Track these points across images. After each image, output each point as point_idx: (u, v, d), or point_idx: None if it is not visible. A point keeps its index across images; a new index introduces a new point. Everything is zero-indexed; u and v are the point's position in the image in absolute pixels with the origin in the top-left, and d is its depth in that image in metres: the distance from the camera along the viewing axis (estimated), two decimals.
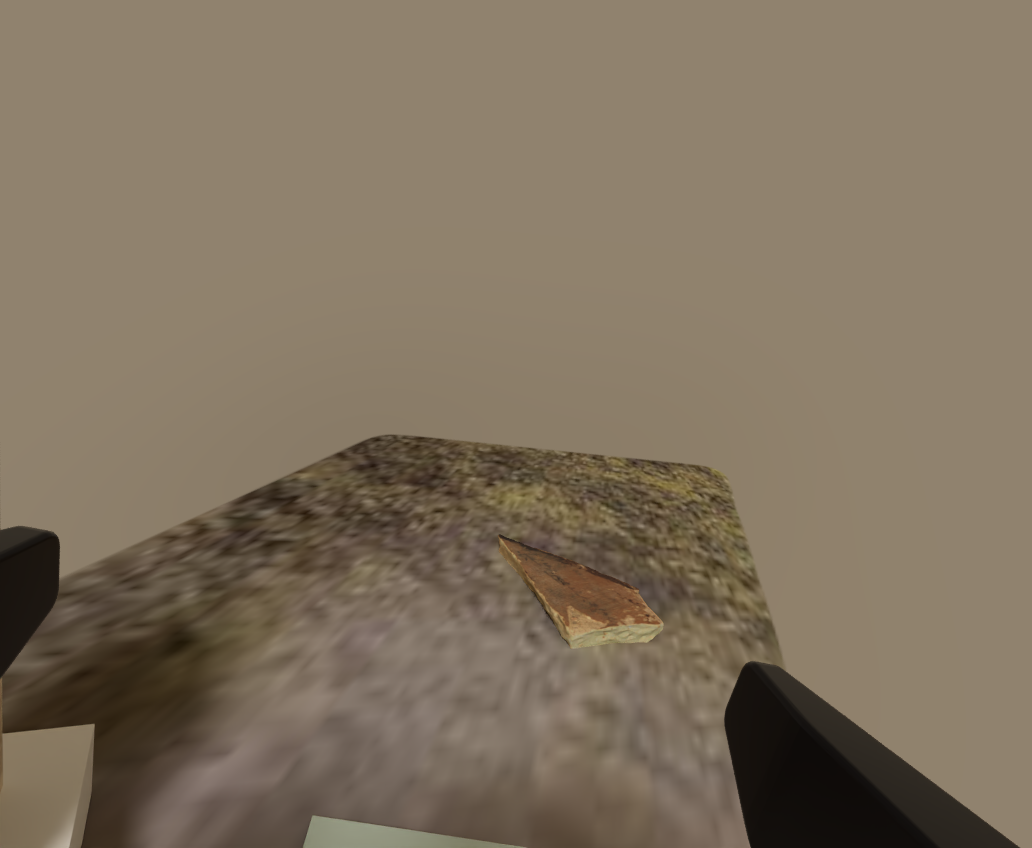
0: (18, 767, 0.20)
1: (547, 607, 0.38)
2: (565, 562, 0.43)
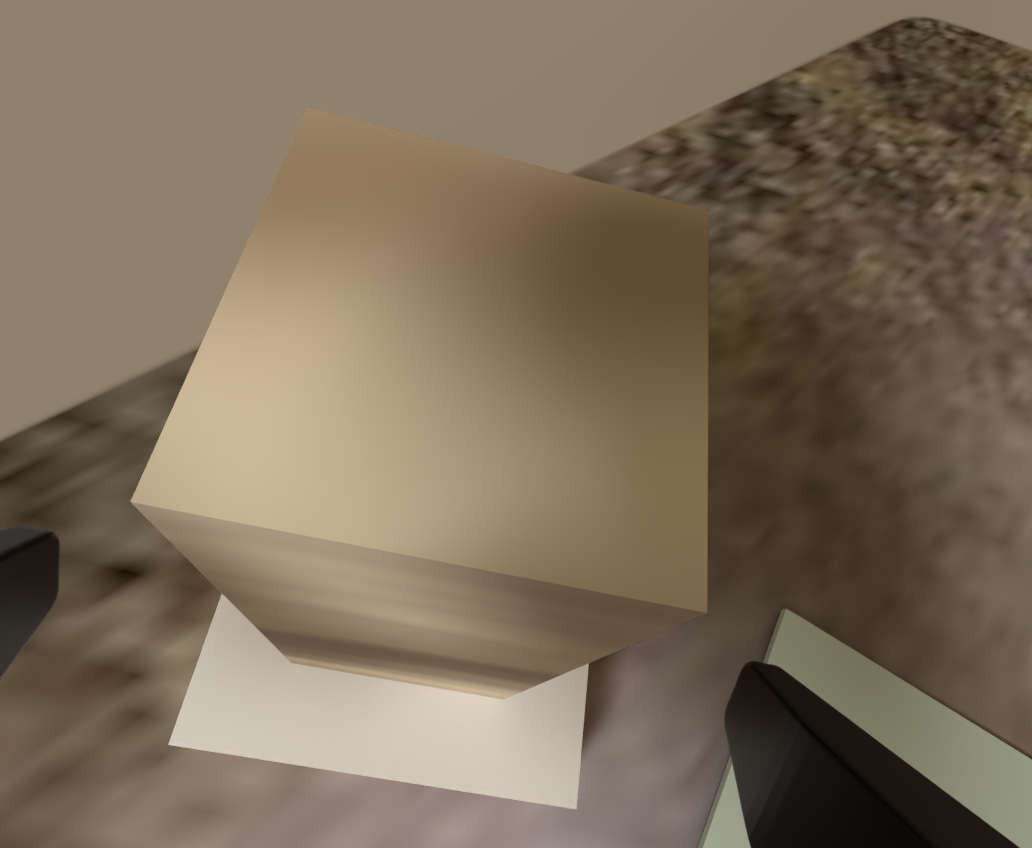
0: None
1: None
2: None
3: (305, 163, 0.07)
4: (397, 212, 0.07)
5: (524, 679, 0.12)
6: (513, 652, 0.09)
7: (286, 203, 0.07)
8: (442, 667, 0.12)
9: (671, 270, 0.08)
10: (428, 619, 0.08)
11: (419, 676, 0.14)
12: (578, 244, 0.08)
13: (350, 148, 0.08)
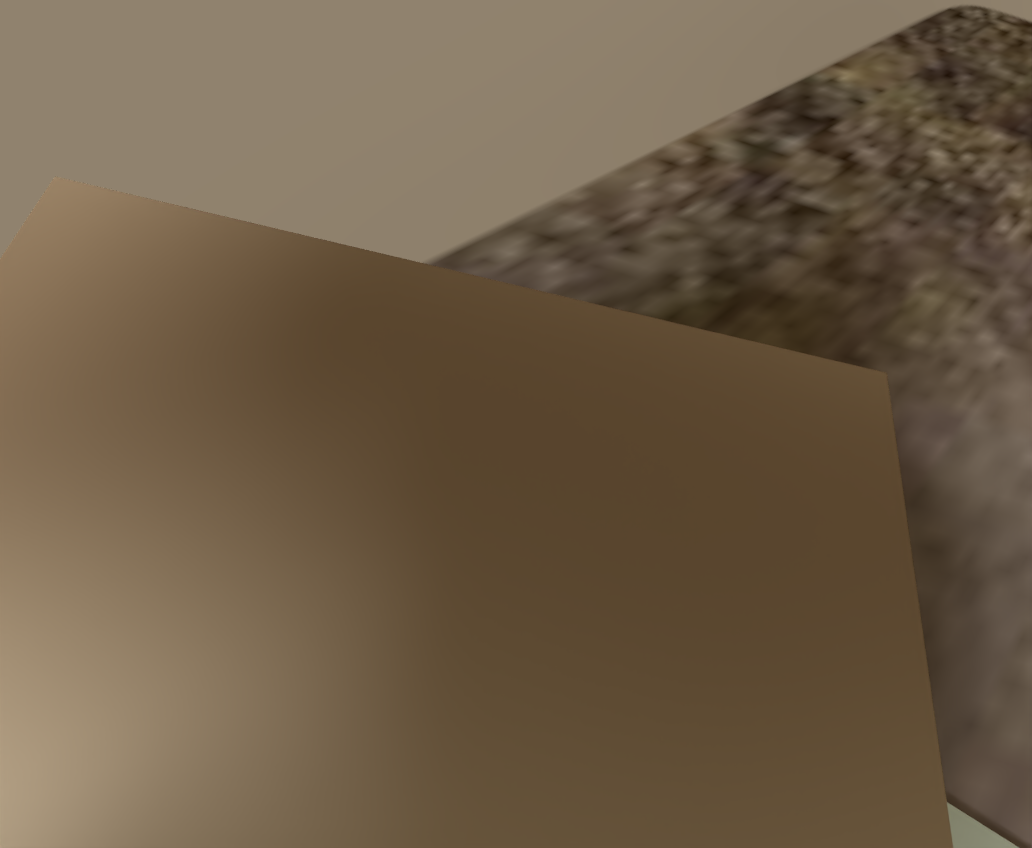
0: None
1: None
2: None
3: (19, 312, 0.03)
4: (224, 428, 0.03)
5: None
6: None
7: None
8: None
9: (832, 529, 0.04)
10: None
11: None
12: (634, 480, 0.03)
13: (133, 269, 0.03)
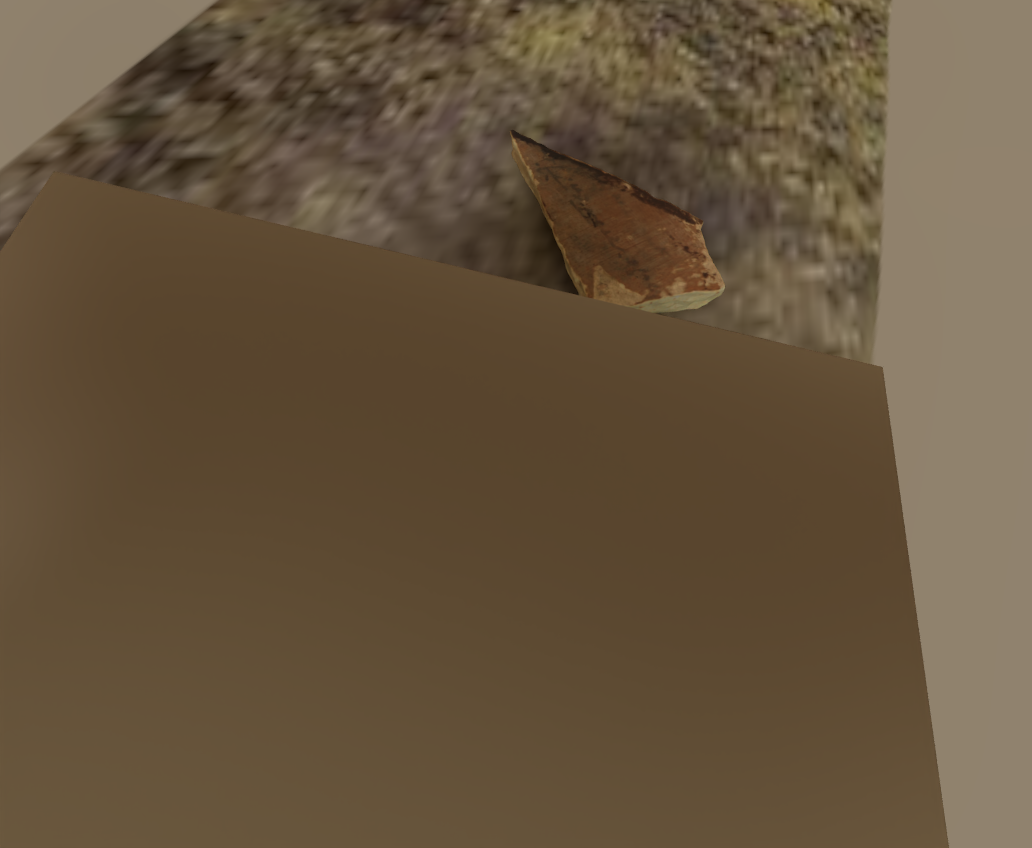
0: None
1: (567, 266, 0.28)
2: (604, 180, 0.30)
3: (18, 306, 0.03)
4: (222, 421, 0.03)
5: None
6: None
7: None
8: None
9: (826, 521, 0.04)
10: None
11: None
12: (630, 472, 0.03)
13: (133, 263, 0.03)
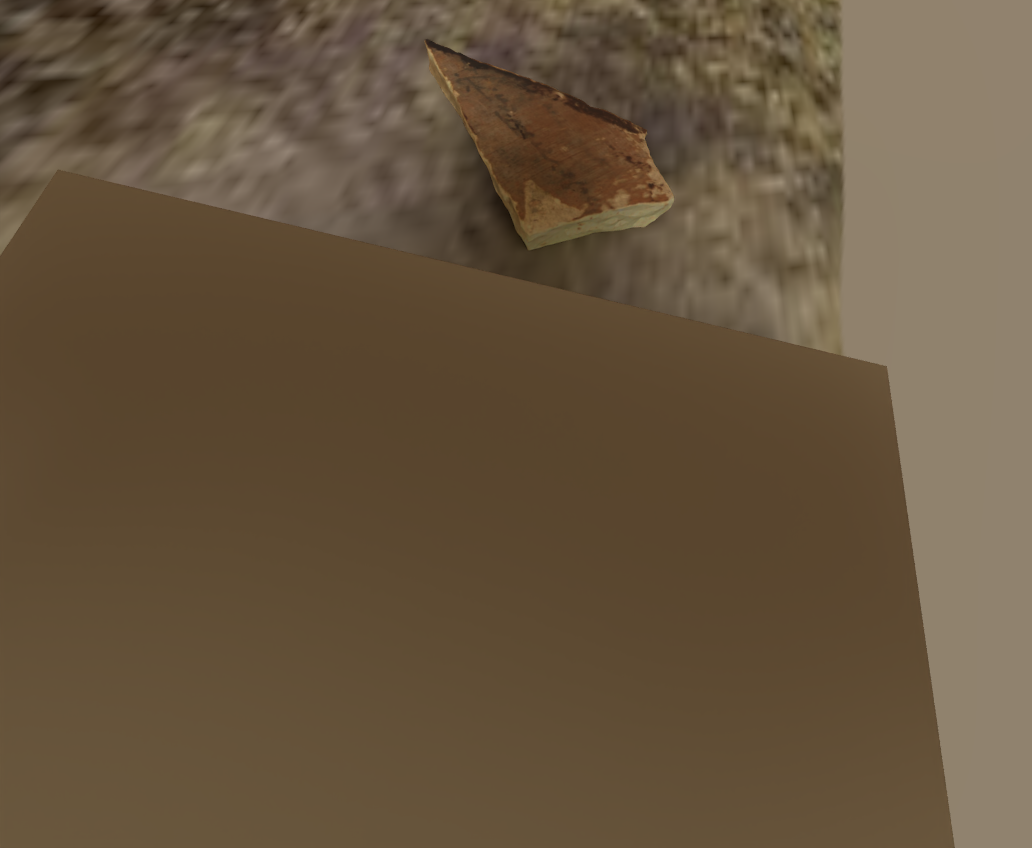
0: None
1: (495, 184, 0.25)
2: (533, 89, 0.27)
3: (22, 304, 0.03)
4: (227, 419, 0.03)
5: None
6: None
7: None
8: None
9: (833, 521, 0.04)
10: None
11: None
12: (635, 471, 0.03)
13: (137, 263, 0.03)
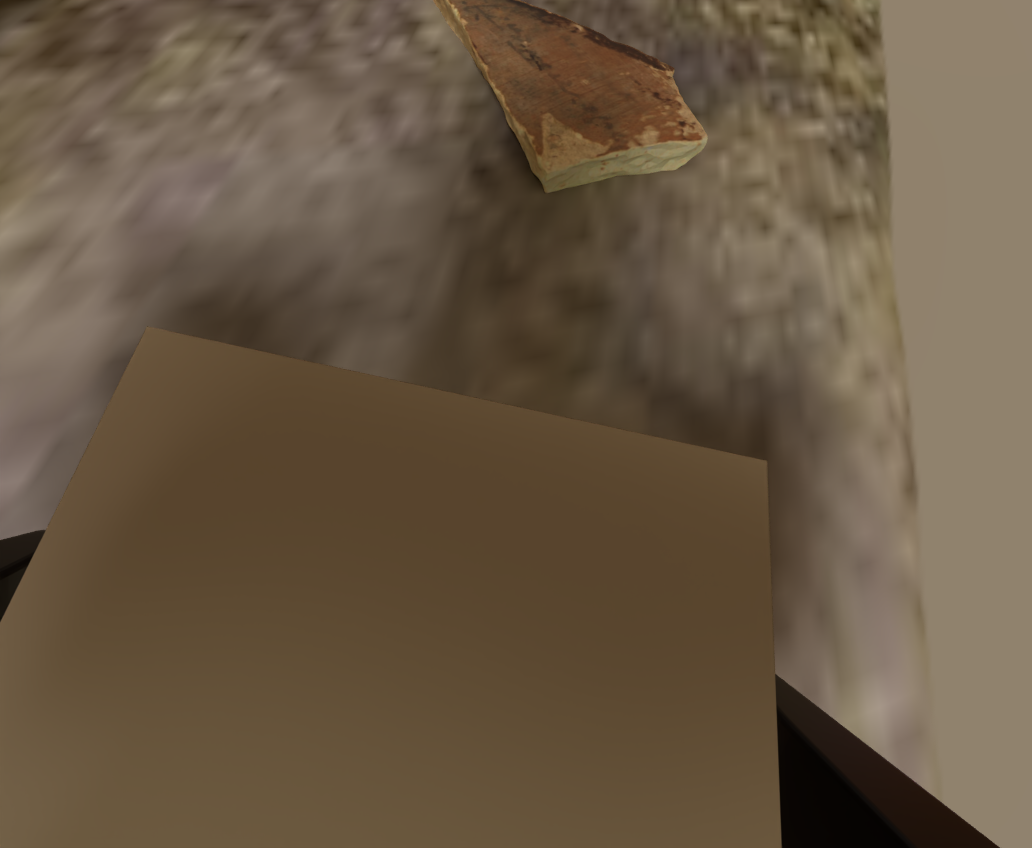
0: None
1: (508, 117, 0.22)
2: (549, 20, 0.24)
3: (129, 435, 0.05)
4: (276, 518, 0.04)
5: None
6: None
7: (86, 521, 0.04)
8: None
9: (713, 584, 0.05)
10: None
11: None
12: (568, 550, 0.05)
13: (207, 399, 0.05)
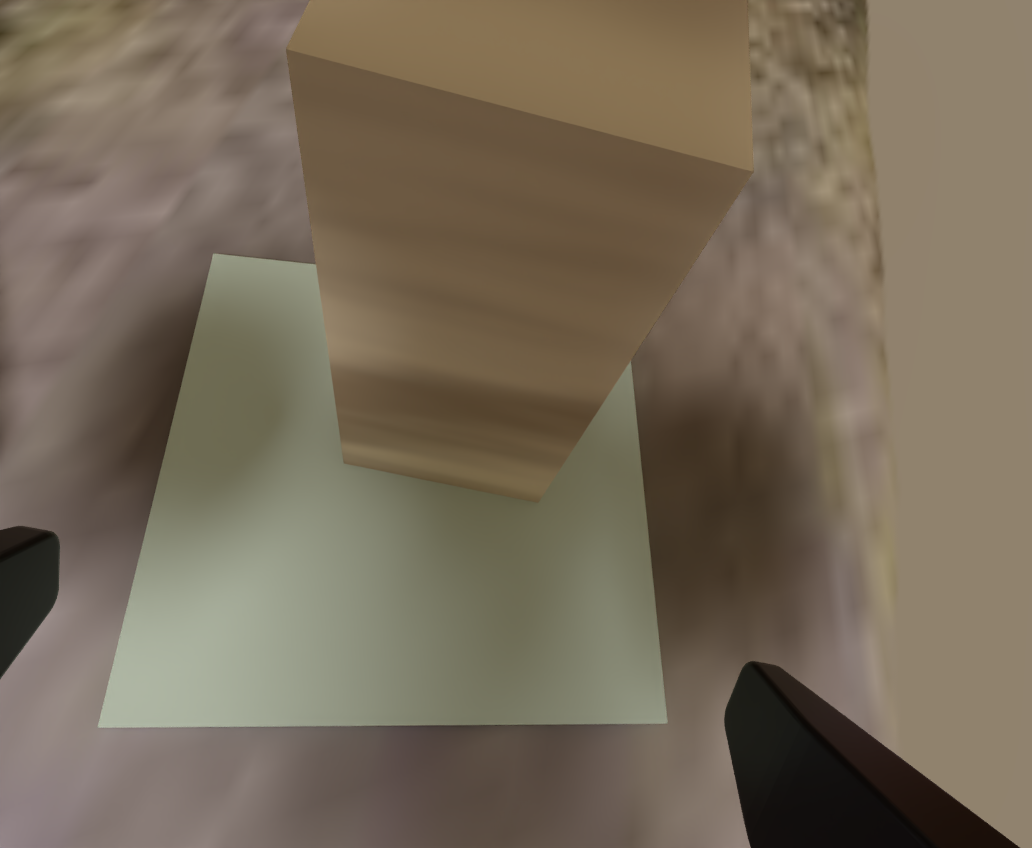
0: None
1: None
2: None
3: None
4: None
5: (567, 429, 0.13)
6: (567, 347, 0.10)
7: None
8: (492, 420, 0.13)
9: None
10: (500, 280, 0.09)
11: (465, 459, 0.15)
12: None
13: None
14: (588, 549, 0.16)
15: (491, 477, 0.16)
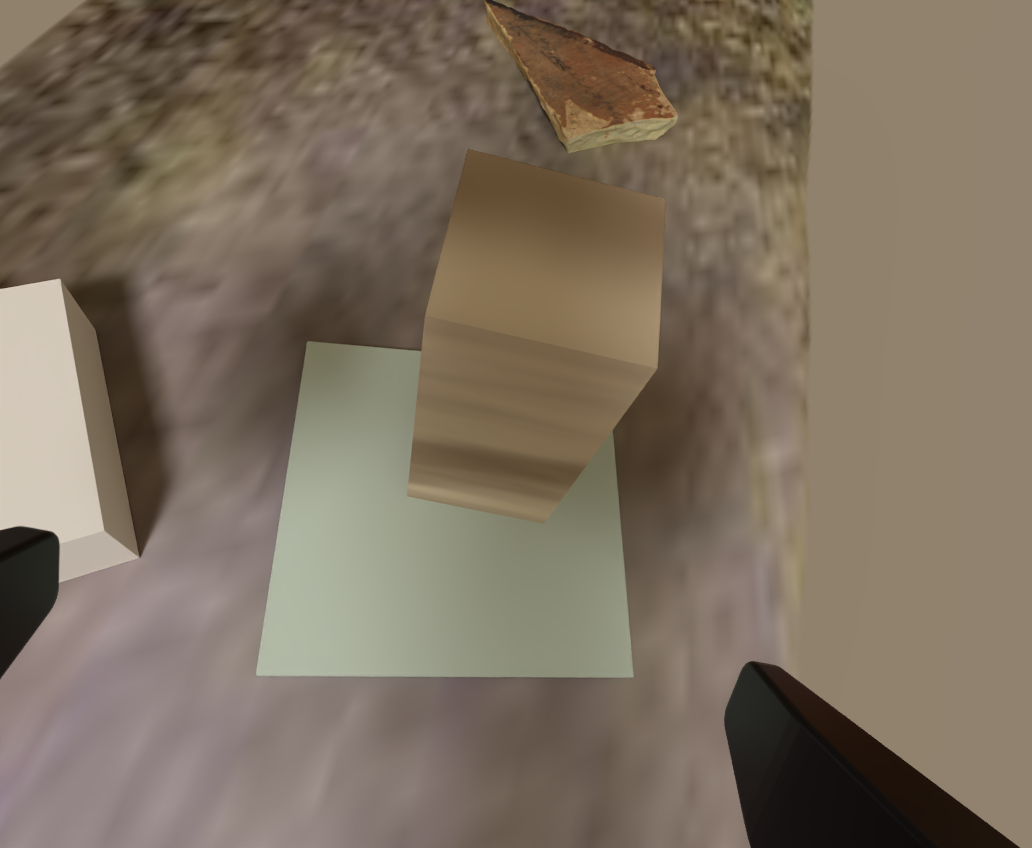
0: (3, 326, 0.20)
1: (542, 102, 0.33)
2: (568, 35, 0.35)
3: (470, 176, 0.15)
4: (515, 200, 0.15)
5: (564, 479, 0.20)
6: (563, 436, 0.17)
7: (465, 196, 0.15)
8: (515, 473, 0.20)
9: (645, 228, 0.16)
10: (525, 404, 0.16)
11: (494, 495, 0.22)
12: (600, 215, 0.15)
13: (489, 169, 0.15)
14: (579, 556, 0.23)
15: (511, 506, 0.23)
